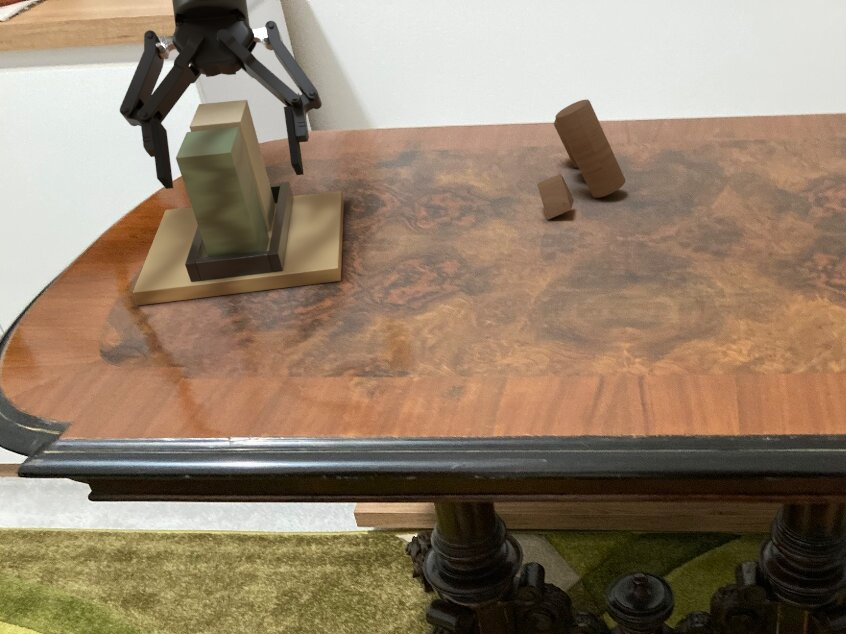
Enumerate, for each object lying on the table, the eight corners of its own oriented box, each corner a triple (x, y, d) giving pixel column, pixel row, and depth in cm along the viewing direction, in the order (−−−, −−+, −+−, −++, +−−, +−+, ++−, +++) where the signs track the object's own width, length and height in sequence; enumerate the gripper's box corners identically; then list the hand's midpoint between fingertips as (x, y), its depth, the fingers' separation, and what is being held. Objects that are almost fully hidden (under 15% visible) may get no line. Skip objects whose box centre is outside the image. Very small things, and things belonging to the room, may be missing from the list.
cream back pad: (223, 236, 100) (189, 126, 93) (230, 210, 105) (198, 104, 98) (270, 230, 101) (240, 121, 93) (275, 205, 106) (247, 99, 99)
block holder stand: (137, 305, 92) (85, 175, 83) (169, 221, 107) (128, 104, 99) (341, 280, 94) (310, 152, 86) (344, 202, 110) (318, 86, 101)
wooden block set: (569, 177, 119) (533, 103, 114) (630, 150, 117) (596, 73, 111) (554, 233, 105) (511, 151, 100) (623, 204, 102) (583, 118, 97)
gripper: (331, 1, 105) (356, 178, 103) (102, 20, 102) (122, 203, 100) (319, -41, 98) (346, 148, 96) (71, -23, 94) (93, 174, 92)
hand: (232, 176), depth 98 cm, fingers open, 13 cm apart
